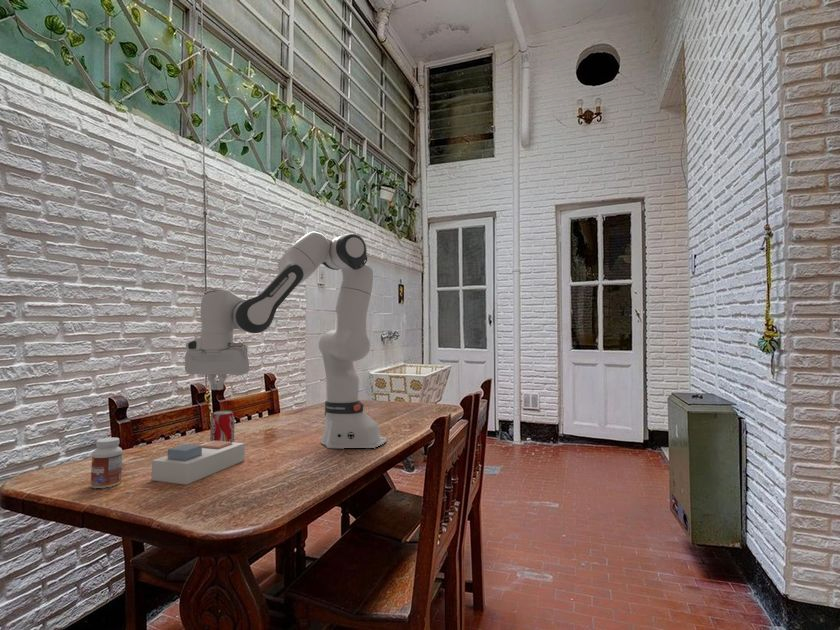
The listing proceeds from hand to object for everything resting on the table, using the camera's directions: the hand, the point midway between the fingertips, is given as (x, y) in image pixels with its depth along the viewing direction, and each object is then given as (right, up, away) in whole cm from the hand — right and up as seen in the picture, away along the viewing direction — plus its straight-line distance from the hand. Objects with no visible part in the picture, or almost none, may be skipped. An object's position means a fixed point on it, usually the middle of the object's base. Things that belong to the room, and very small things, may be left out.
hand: (217, 389), depth 133 cm
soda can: (-3, -21, +10) cm, 24 cm away
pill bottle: (-17, -20, -23) cm, 35 cm away
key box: (0, -20, -11) cm, 23 cm away
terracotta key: (+2, -19, -5) cm, 19 cm away
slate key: (-1, -17, -16) cm, 23 cm away
